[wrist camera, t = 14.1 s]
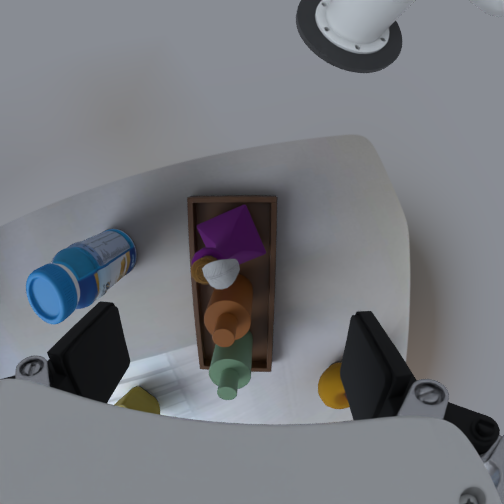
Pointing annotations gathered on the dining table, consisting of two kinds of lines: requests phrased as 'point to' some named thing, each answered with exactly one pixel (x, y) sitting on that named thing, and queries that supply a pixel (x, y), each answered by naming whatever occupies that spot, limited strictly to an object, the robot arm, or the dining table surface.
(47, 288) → the beverage bottle
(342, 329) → the dining table surface
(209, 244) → the perfume bottle
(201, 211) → the tray
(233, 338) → the amber bottle
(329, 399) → the apple
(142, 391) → the flower pot
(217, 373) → the green bottle
